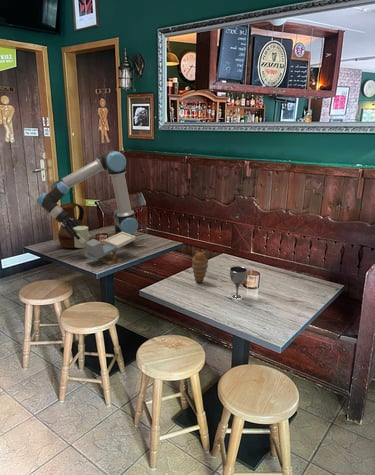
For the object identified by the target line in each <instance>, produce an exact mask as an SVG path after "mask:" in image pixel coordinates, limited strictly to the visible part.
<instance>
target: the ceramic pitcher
mask: <svg viewBox="0 0 375 475" xmlns="http://www.w3.org/2000/svg"><path fill="white" fill-rule="evenodd" d="M59 206H60V207H61V208H62V209H63V211H65V212H67V213H68V217H69V218H71V217H73V218H74V219H75V220H76V221H77V222H78V223H80V224H81V225H82V226H85V224H84V223H83V219H84V215H85V210H84V207H83V206H82V205H81V204H79V203H76V202H66V203H62V204H59ZM76 207H77V208H78V217H76V216H75V213H74V212H75V211H74V210H75V208H76ZM72 227H73V226H72ZM73 228H74V227H73ZM57 234H58V242H59V244H60V246H61V247H63V248H66V249H71V248H72V249H74V248H76V247H75V243H74V237H71V236H70V235H69V233H68V232H67V231H66V230H65V229H64V228H63V227H62V226H61V225H60V227H59V230H58V233H57Z"/></svg>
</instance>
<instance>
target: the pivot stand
mask: <svg viewBox="0 0 375 475" xmlns="http://www.w3.org/2000/svg"><path fill="white" fill-rule="evenodd" d="M103 245H104V244H102V246H103ZM96 261H100V262H102V263H103V264H106V265H108V266H113V265H115V264H119V263H122V262H124V259H123V258H121V257H119V256H117V250H112V252H111V253H109V254H107V255H105V256H103V257H101V258H99V259H97V260H96Z"/></svg>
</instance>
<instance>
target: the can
mask: <svg viewBox="0 0 375 475" xmlns="http://www.w3.org/2000/svg"><path fill="white" fill-rule="evenodd" d="M73 229H74V230H75V232H76V233H78V234H79V235H80V236H81V237H82V238H83V239H84V240H85V242H84V243H83V244H82V243H81V242H80V241H79V240H78V239H76V238H75V237H74V243H75V248H78V249H83V248H84V249H85V248H86V245H85V243H86V242H88V241H90V238H89V235H90V234H89V226H86V225H84V226H77V227H74V228H73Z"/></svg>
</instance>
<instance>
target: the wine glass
mask: <svg viewBox="0 0 375 475" xmlns="http://www.w3.org/2000/svg"><path fill="white" fill-rule="evenodd" d="M247 272H248V271H247V267H244V266H238V265H235V266H231V267H230V269H229V276H230V281H231V282H232V284H234V286H235V289H236V290H235V291H236V292H235V294H236V295H233V294H232V295H233V296H232V297H233V298H236V299H237V298H241V296H240V295H241V294H239V288H240V286H241V285H242V284H243V283H244V282H245V281H246V277H247ZM238 294H239V295H238Z"/></svg>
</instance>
